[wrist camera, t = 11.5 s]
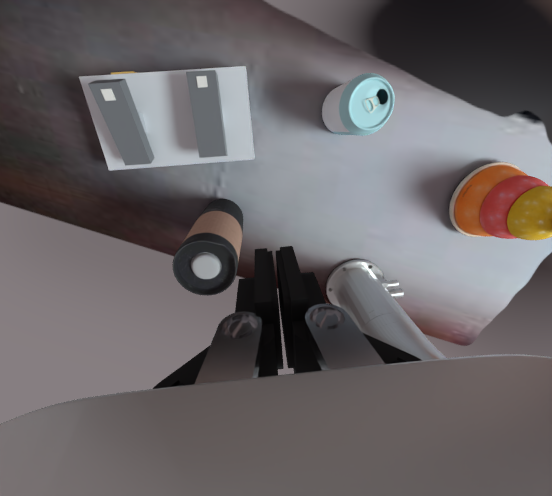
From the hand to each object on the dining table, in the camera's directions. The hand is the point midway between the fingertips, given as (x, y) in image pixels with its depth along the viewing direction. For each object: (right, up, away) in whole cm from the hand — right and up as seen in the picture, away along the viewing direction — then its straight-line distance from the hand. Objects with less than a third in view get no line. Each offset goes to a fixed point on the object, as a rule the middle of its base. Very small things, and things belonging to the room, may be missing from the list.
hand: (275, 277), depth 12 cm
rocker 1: (-20, +18, +23) cm, 35 cm away
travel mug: (-10, +7, +37) cm, 39 cm away
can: (+11, +24, +31) cm, 41 cm away
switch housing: (-15, +22, +30) cm, 40 cm away
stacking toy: (+40, +11, +39) cm, 57 cm away
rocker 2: (-9, +19, +23) cm, 32 cm away
